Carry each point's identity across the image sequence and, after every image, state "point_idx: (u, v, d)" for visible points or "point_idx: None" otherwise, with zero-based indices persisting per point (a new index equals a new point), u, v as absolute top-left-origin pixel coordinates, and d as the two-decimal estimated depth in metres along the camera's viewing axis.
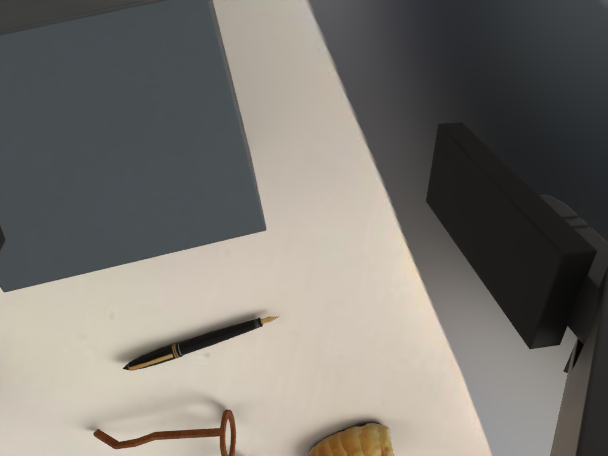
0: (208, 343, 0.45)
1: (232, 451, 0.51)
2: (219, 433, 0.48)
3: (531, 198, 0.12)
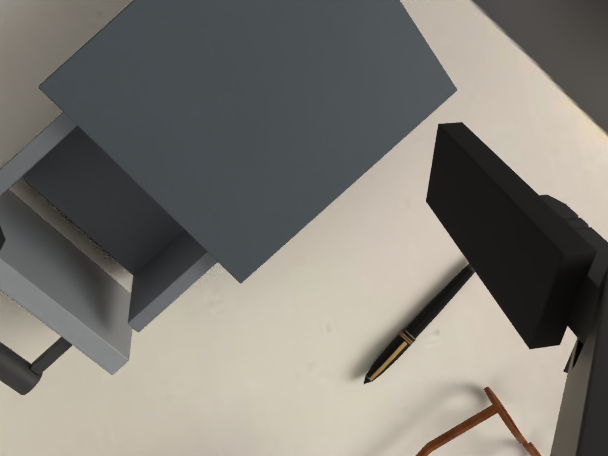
0: (434, 312, 0.41)
1: (517, 430, 0.44)
2: (495, 409, 0.42)
3: (531, 198, 0.12)
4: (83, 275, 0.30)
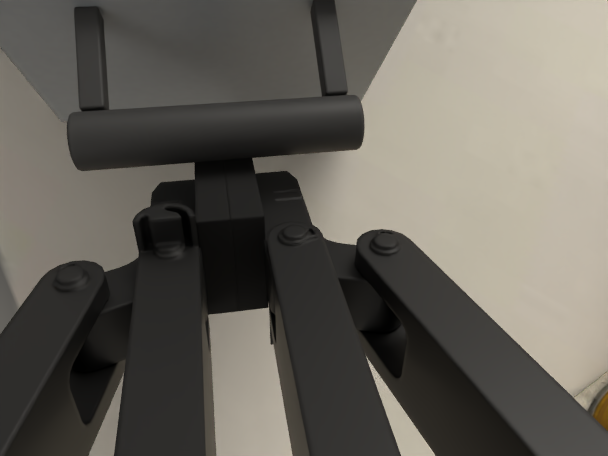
0: None
1: None
2: None
3: (244, 171, 0.13)
4: None
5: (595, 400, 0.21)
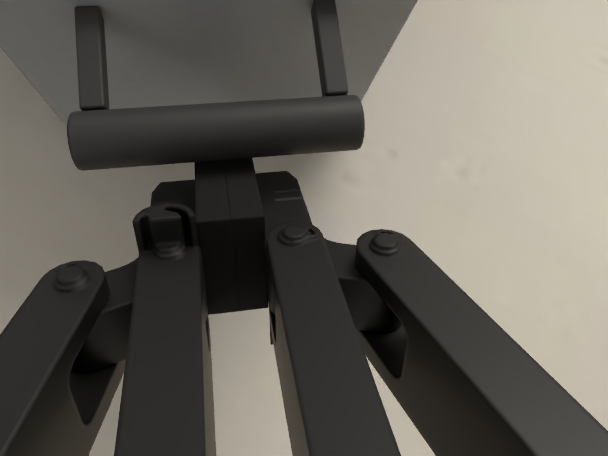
0: None
1: None
2: None
3: (244, 171, 0.13)
4: None
5: None
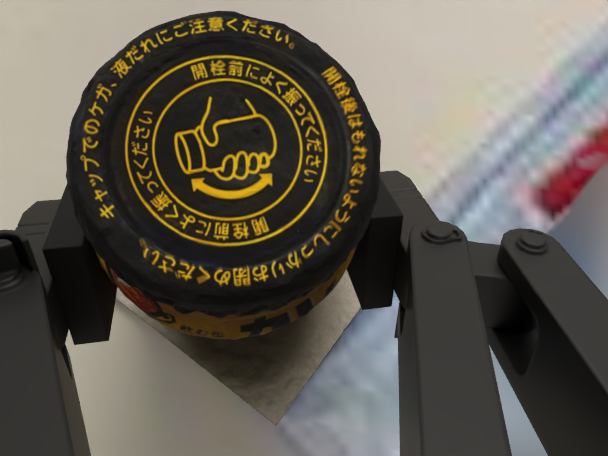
0: None
1: None
2: None
3: None
4: None
5: None
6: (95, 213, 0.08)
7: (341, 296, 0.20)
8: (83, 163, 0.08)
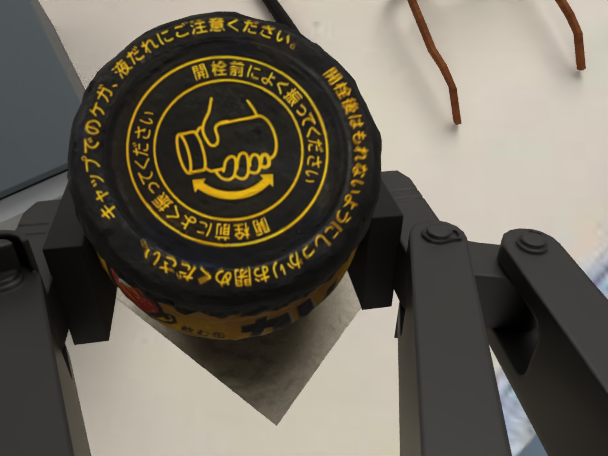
0: (284, 19, 0.41)
1: None
2: None
3: None
4: None
5: None
6: (96, 214, 0.08)
7: (341, 296, 0.20)
8: (84, 164, 0.08)
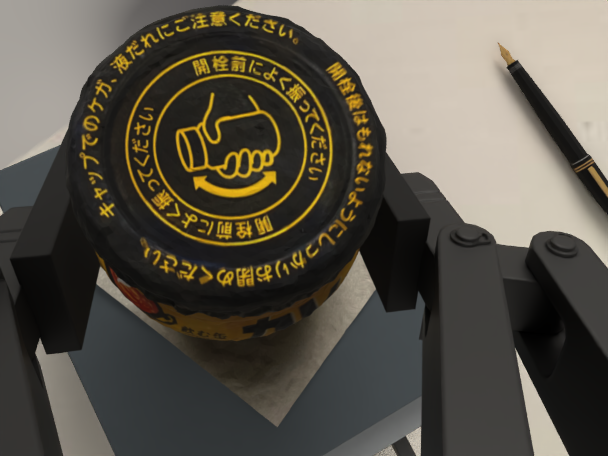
0: (560, 124, 0.33)
1: None
2: None
3: (390, 173, 0.13)
4: None
5: None
6: (95, 212, 0.08)
7: (342, 296, 0.20)
8: (82, 161, 0.08)
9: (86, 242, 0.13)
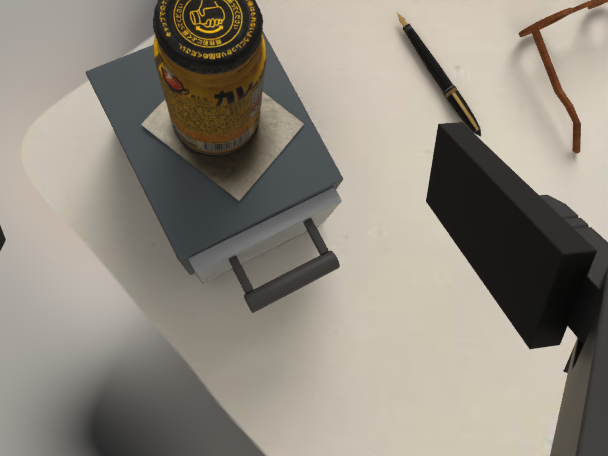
0: (435, 65, 0.50)
1: None
2: (534, 28, 0.49)
3: (531, 198, 0.12)
4: None
5: None
6: (164, 35, 0.25)
7: (275, 138, 0.37)
8: (160, 19, 0.25)
9: None
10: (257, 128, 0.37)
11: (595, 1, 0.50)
